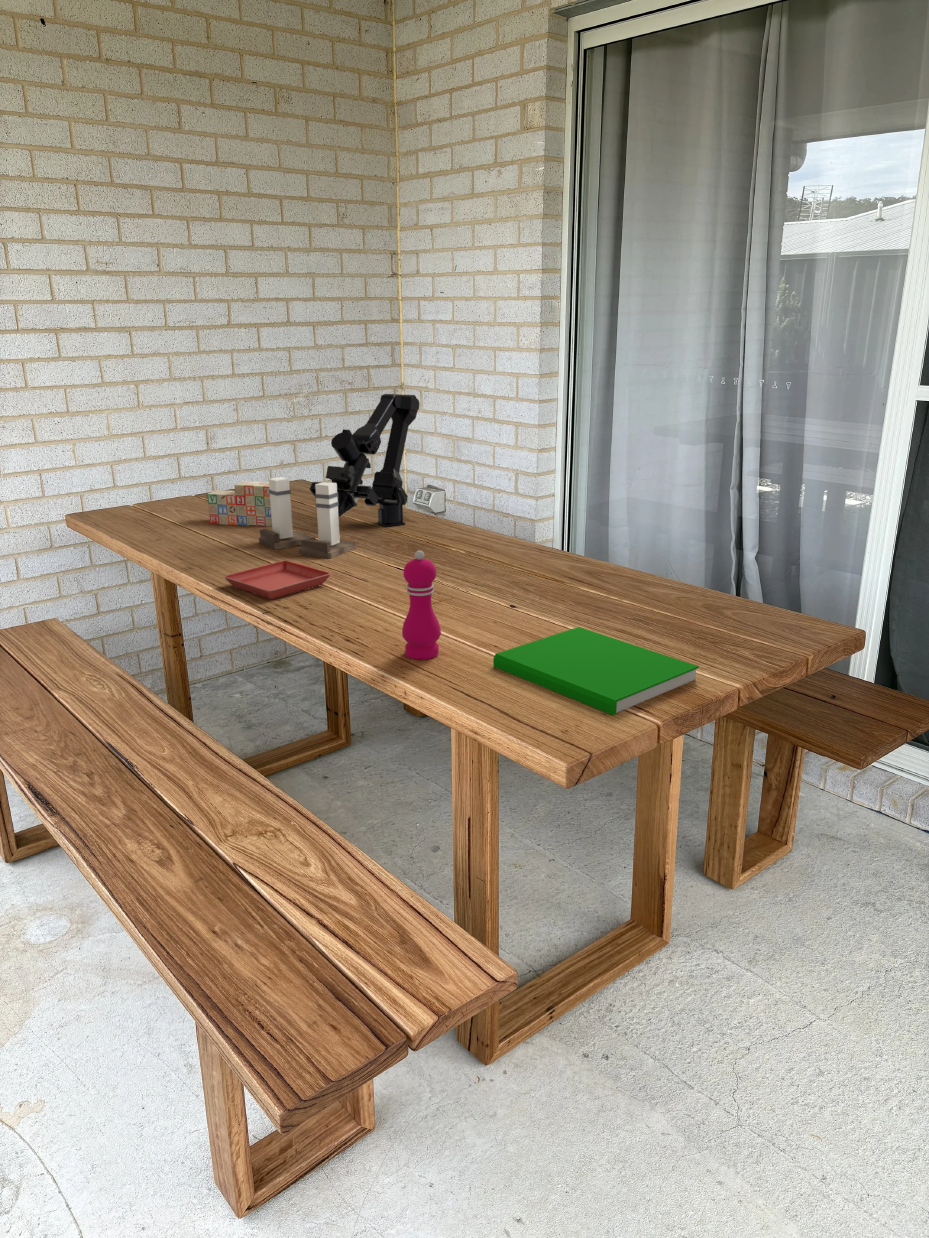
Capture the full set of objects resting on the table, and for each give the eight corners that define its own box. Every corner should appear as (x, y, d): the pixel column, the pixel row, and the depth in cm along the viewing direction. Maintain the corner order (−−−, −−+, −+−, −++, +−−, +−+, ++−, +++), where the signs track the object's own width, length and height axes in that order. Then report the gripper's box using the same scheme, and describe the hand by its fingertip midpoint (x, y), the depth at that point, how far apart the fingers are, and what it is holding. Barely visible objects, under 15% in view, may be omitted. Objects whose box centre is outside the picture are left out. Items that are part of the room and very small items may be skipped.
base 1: (297, 536, 265) (296, 522, 264) (315, 542, 258) (314, 528, 256) (259, 543, 258) (258, 528, 257) (276, 549, 251) (275, 535, 249)
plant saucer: (270, 604, 207) (268, 590, 206) (223, 588, 218) (222, 575, 217) (333, 586, 219) (332, 573, 218) (286, 572, 231) (285, 559, 230)
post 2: (327, 540, 252) (323, 481, 247) (340, 542, 250) (337, 482, 245) (318, 544, 248) (314, 484, 243) (331, 545, 246) (328, 485, 241)
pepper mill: (402, 648, 179) (398, 546, 172) (440, 646, 179) (438, 545, 173) (403, 661, 172) (399, 556, 165) (442, 660, 172) (440, 555, 166)
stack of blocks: (209, 524, 281) (205, 483, 277) (218, 519, 287) (215, 480, 283) (275, 527, 277) (272, 486, 273) (284, 522, 283) (281, 482, 279)
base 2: (323, 544, 256) (323, 530, 255) (355, 547, 252) (354, 533, 251) (298, 554, 246) (297, 539, 244) (331, 558, 242) (330, 543, 240)
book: (578, 641, 183) (578, 626, 182) (697, 682, 163) (698, 666, 162) (493, 669, 169) (493, 654, 168) (612, 718, 149) (613, 701, 148)
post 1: (286, 534, 259) (282, 476, 254) (293, 536, 256) (289, 478, 251) (272, 536, 257) (267, 478, 252) (279, 539, 254) (275, 480, 249)
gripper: (311, 452, 252) (289, 499, 246) (370, 455, 245) (350, 505, 239) (328, 476, 261) (308, 523, 255) (386, 481, 254) (367, 529, 248)
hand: (332, 519), depth 249 cm, fingers closed, pressing on post 2
